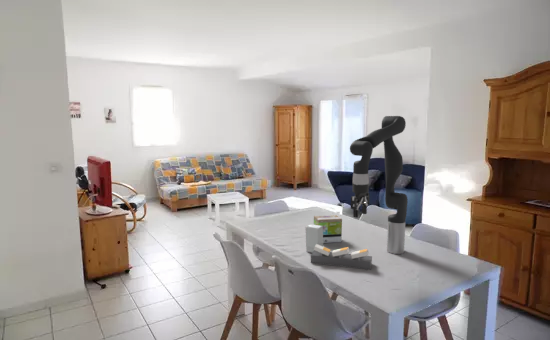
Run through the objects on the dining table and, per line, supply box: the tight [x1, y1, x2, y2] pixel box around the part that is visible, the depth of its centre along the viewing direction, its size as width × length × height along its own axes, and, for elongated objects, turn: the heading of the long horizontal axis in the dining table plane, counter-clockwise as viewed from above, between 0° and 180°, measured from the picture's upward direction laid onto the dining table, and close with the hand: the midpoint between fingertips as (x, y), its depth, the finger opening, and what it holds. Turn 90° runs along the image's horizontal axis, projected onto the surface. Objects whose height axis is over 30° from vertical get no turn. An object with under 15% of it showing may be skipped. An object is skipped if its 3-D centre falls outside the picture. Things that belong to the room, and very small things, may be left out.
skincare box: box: [304, 224, 324, 254], centre depth 211 cm, size 8×6×15 cm
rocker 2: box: [331, 246, 350, 256], centre depth 191 cm, size 4×8×2 cm, turn 71°
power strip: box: [310, 250, 373, 270], centre depth 194 cm, size 8×30×5 cm, turn 71°
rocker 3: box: [350, 248, 369, 259], centre depth 188 cm, size 4×8×2 cm, turn 71°
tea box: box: [313, 214, 343, 244], centre depth 230 cm, size 15×10×15 cm
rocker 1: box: [314, 244, 332, 256], centre depth 194 cm, size 4×8×2 cm, turn 71°
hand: (360, 215), depth 183 cm, fingers open, 8 cm apart
